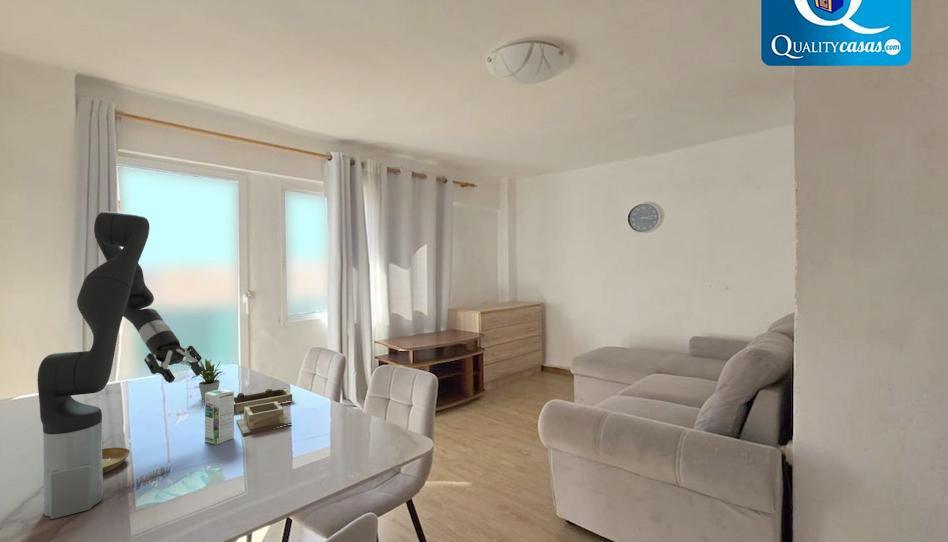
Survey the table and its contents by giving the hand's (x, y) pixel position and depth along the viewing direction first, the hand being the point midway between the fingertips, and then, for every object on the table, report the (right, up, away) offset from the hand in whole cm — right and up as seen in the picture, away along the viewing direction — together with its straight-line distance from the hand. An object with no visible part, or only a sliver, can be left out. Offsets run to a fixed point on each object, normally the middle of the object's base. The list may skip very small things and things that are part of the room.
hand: (186, 377), depth 127 cm
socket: (+18, -18, +11) cm, 28 cm away
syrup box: (+11, -18, -2) cm, 22 cm away
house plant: (-19, -18, +39) cm, 47 cm away
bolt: (+7, -13, +31) cm, 35 cm away
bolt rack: (+7, -18, +31) cm, 36 cm away
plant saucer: (-10, -19, -20) cm, 29 cm away
